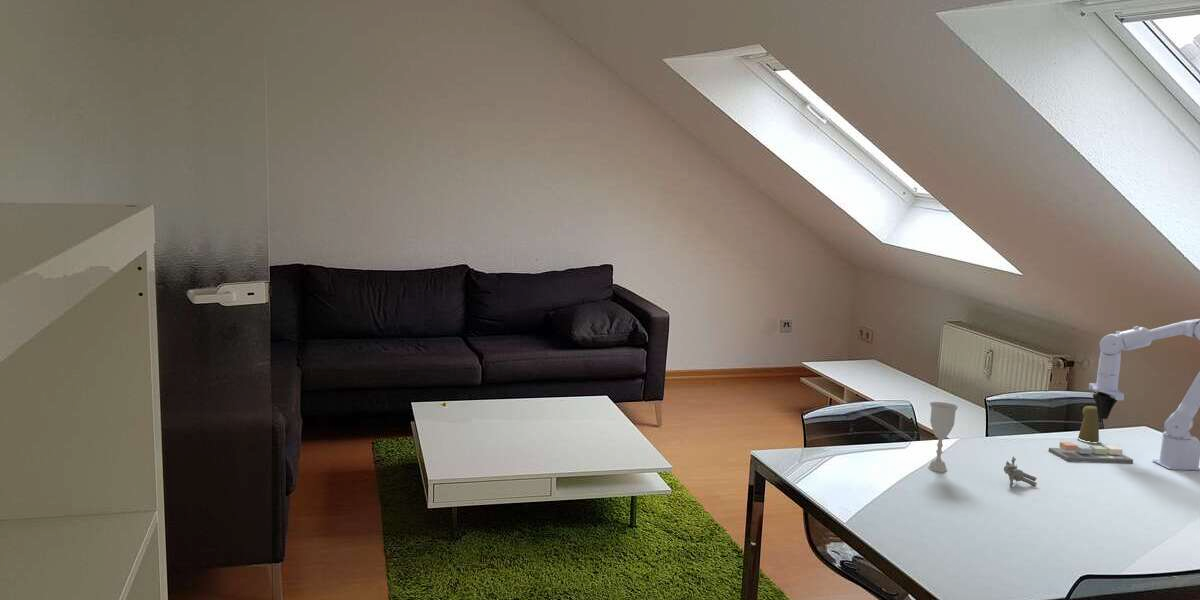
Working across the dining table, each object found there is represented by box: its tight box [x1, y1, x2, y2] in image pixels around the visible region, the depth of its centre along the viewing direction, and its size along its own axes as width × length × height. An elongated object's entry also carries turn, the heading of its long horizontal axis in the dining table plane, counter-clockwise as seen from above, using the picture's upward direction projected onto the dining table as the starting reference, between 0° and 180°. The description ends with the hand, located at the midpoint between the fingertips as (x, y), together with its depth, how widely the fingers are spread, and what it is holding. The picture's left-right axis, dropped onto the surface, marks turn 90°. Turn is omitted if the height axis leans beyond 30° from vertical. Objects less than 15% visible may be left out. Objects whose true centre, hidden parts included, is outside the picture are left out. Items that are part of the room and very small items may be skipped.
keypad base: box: [1048, 447, 1134, 464], centre depth 285 cm, size 20×10×1 cm, turn 94°
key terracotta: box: [1058, 441, 1078, 451], centre depth 285 cm, size 3×3×2 cm
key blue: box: [1076, 444, 1092, 454], centre depth 285 cm, size 3×3×2 cm
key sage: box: [1088, 444, 1107, 454], centre depth 285 cm, size 3×3×2 cm
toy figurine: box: [1003, 456, 1038, 489], centre depth 255 cm, size 10×6×9 cm
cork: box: [1077, 405, 1100, 442], centre depth 303 cm, size 6×6×11 cm
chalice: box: [927, 401, 959, 473], centre depth 265 cm, size 7×7×18 cm
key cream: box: [1103, 445, 1123, 455], centre depth 286 cm, size 3×3×2 cm
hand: (1102, 418), depth 290 cm, fingers closed
